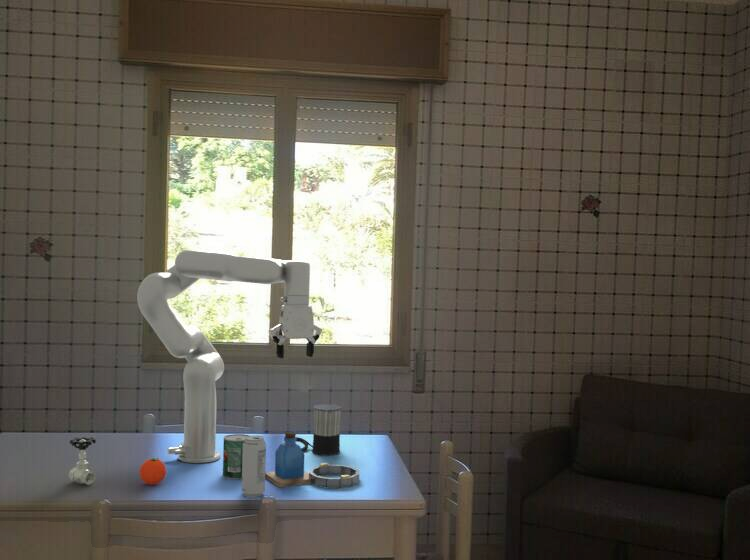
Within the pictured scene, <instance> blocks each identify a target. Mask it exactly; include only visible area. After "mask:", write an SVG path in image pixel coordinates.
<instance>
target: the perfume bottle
mask: <svg viewBox="0 0 750 560" xmlns="http://www.w3.org/2000/svg"><path fill="white" fill-rule="evenodd" d="M296 434H297V432H296V431H286V432H284V437H283V441H284V443H280V444H279V446H278V448H276V450H275V454H274V455H275V458H274V461H275V462H274V465H275V466H274V471H275V474H276V475H278V476H279V477H280V478H282V479H291V478H300V477H304V471H305V454H304V452H303V451H302V450H301V448H302V447H301V445H299V444H297V443H296V442H295V441H296V437H297V435H296Z"/></svg>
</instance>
